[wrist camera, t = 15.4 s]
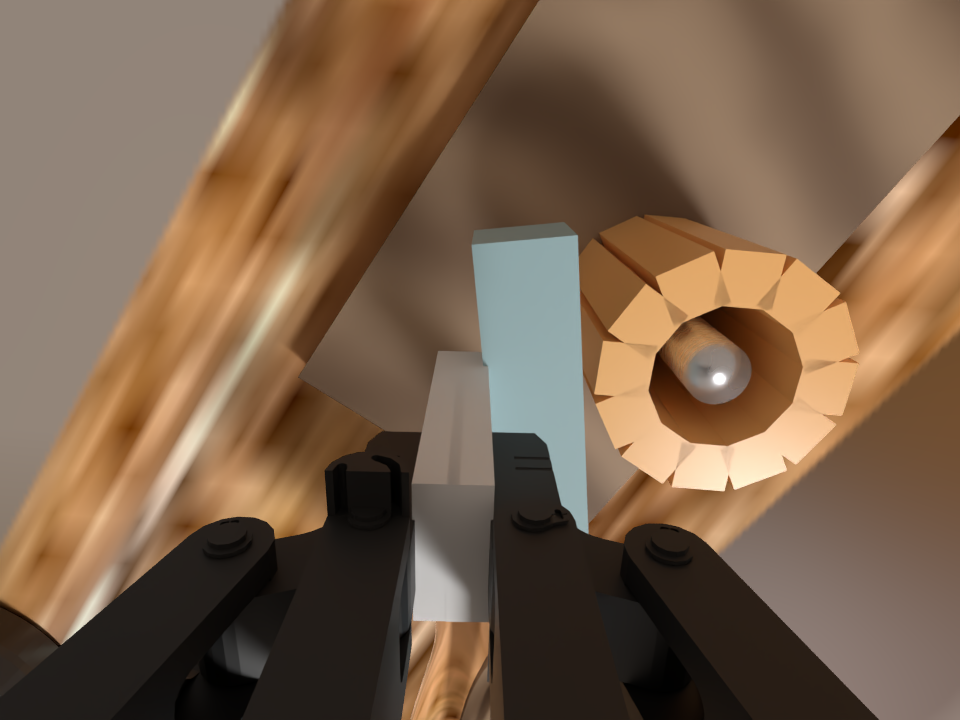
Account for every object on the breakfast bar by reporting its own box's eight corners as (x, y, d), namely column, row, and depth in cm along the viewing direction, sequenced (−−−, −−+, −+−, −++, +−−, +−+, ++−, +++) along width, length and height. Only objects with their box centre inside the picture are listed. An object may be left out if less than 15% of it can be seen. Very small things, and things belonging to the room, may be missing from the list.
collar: (657, 413, 28) (731, 528, 19) (527, 323, 26) (546, 406, 18) (771, 283, 26) (911, 350, 17) (637, 178, 24) (717, 195, 16)
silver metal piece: (531, 482, 29) (549, 623, 21) (491, 457, 29) (493, 590, 20) (683, 302, 26) (780, 379, 17) (641, 271, 26) (720, 334, 17)
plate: (566, 526, 32) (569, 544, 30) (307, 365, 29) (298, 377, 27) (1033, 4, 23) (1068, -5, 22) (733, -299, 20) (752, -333, 19)
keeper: (593, 625, 20) (607, 688, 18) (500, 630, 20) (501, 693, 18) (579, 220, 16) (595, 233, 13) (459, 231, 16) (453, 246, 13)
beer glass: (417, 629, 34) (368, 965, 20) (434, 530, 32) (393, 832, 18) (534, 646, 35) (566, 989, 21) (560, 550, 32) (616, 861, 18)
